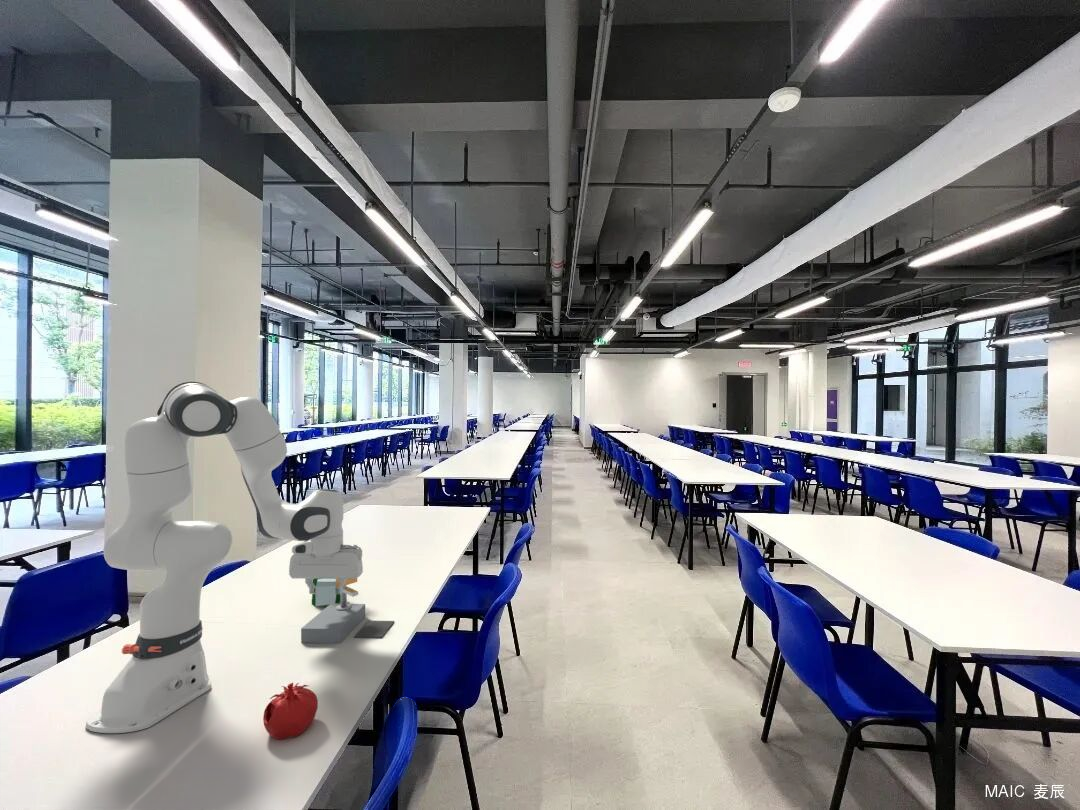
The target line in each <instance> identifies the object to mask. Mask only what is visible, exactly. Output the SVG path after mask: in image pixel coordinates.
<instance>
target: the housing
mask: <svg viewBox="0 0 1080 810" xmlns="http://www.w3.org/2000/svg"><path fill="white" fill-rule="evenodd" d="M365 618H366V603H348V602H347V606H346V607H344V608H341V607H340V603H336V604H330V605H329V606H327V607H326V608H323V610H321V611H320V612H319V613H318V614H317V615H316V616H314V617H313V618H312V619H311V620H309V621H308V622H307V623H306V624H304V626H302V627H301V629H300V638H301V639H300V642H301V644H341V643H342V642H343V641H344V640H345V639H346V638H347V637H348V636H349V635H350V633H351V632H352V631H353V630H354V629H355V628H356V627H357V626H358V625H359V624H360V623H361V622H362V621H363V620H364V619H365Z"/></svg>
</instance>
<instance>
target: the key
mask: <svg viewBox="0 0 1080 810" xmlns="http://www.w3.org/2000/svg"><path fill="white" fill-rule="evenodd" d="M357 582H358V578H356V579H347V581H346V583H345V585H344V586H343V593H342V594H340V602H339V604H340V607H341V608H344V607H346V606H347V603H348V596H351V597H352V598H353V597H355V596H356V597H357V596H359V591H358V590H356V589H353V588H351V587H349V585H351V584H355V583H357ZM340 584H341V582H339V579H336V588H337V587H338V586H340Z"/></svg>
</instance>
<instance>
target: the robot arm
mask: <svg viewBox="0 0 1080 810" xmlns="http://www.w3.org/2000/svg"><path fill="white" fill-rule="evenodd" d="M156 415H157V416H153V417H146V418H143V419H140V420H137V421H135V422H133V423H132V424H130V426H129V427H127V430H126V433H125V437H124V438H125V439H124V462H125V471H126V477H127V484H128V494H129V507H128V508H129V509H128V512H127V515H126V517H125V519H124V521H123V522H122V523H121V524H120V525H119V526H118V527H116V528H115V529H114V530H113V531H112V532H111V533H110V534H109V535H108V537H107V539H106V540H105V542H104V545H103V557H104V560H105V562H106V564H108V566H109V567H111V568H115V569H120V570H126V571H133V572H141V571H142V572H143V571H144V572H145V571H164V572H165V573H164V574H165V576H164V581H163V582H162V584H160V585H158V586H155V587H154V588H153V589H151V590H150V591H148V592H147V593H145V595H144V597H143V598H142V599H141V601H140V604H139V634H138V635H137V638H136V640H135V643H134V644H131V643H126V644H124V645H123V647H122V648H121V654H122V655H132V657H131V658H130V659H129V661H128V662H127V663H126V664H125V665H124V667H123V668H122V669H121V670H120V672H118V674H117V676H116V677H115V678H114V679H113V681H112V682H111V683H110V684H109V686H108V687H107V688H106V689H105V691H104V692H103V693H104V694H103V697H102V703H101V708H100V710H98V711H97V712H96V713H95V714H93V715H92V716H91V717H90V718H89V719H87V721H85V728H86V729H87V730H88V729H89V730H88V731H90V732H95V733H101V734H124V733H125V734H126V733H132V732H137V731H141V730H145V729H148V728H150V727H152V726H154V725H155V724H157V723H158V722H160V721H162V720H163V719H165V718H166V717H168V716H170V715H171V714H173V713H174V712H176V711H178V710H179V709H181V708H182V707H184V706H186V705H187V704H188V703H191V702H192V701H193V700H195V699H197V698H198V697H200V696H202V695H203V694H204V693H207V691H209V690H211V689H212V683H211V681H210V679H209V675H208V670H207V663H206V662H207V661H206V656H205V651H204V648H203V646H202V643H201V638H202V636H203V623H202V620H201V619H200V617H201V616H200V614H201V612H200V610H201V595H202V589H203V585H204V583H205V581H206V579H207V577H208V575H209V574H210V573H211V572H212V570H213V569H214V568H215V567H217V566H218V565H219V564H220V563H222V562H223V561H224V560H225V559H226V558H227V557H228V555H229V553H230V551H231V549H232V545H233V535H232V532H231V530H230V529H229V527H228V526H227V525H226V524H224V523H222V522H217V521H210V520H205V519H204V520H174V519H173V517H172V512H173V509H176V508H178V507H180V506H181V505H183V504H184V503H185V502H186V501H187V500H188V499H190V497H191V494H192V492H193V485H192V477H191V472H190V471H191V470H190V464H189V463H190V462H189V458H188V456H189V455H188V449H187V444H188V441H189V438H190V437H194V438H195V437H196V438H203V437H209V436H215V435H223V434H224V435H225V437H226V438H227V440H228V441H229V443H230V445H231V447H232V449H233V451H234V453H235V454H236V455H235V456H236V457H237V460H238V461H239V463H240V471H241V475H242V479H243V480H244V481H243V482H244V483H245V486H246V488H247V490H248V494H249V495H250V498H251V501H252V503H253V505H254V508H255V512H256V523H257V528H258V531H259V532H260V534H261V535H262V536H264V537H265V538H267V539H276V540H277V539H282V540H290V541H296V542H299V543H297V544H295V545H293V546H292V547H291V553H292V555H291V557H290V559H289V566H288V575H289V577H290V578H291V579H305V580H304V581H305V584H306V585H307V588H308V594H309V595H312V594H315V593H316V586H314V584H313V582H312V580H314V579H339V582H341V584H340V586H338V587H337V588H335V591H336V592H335V594H342V593H343V586H344V585H345V583H346V581H347V579H356V578H357V579H358V578H359V577H361V576H362V574H363V572H364V568H363V567H364V565H363V549H362V548H361V547H360V546H358V545H357V544H344V528H343V527H342V526H343V522H344V521H343V520H344V501H343V497H342V494H341V492H340V491H339V490H337V489H328V488H327V489H326V488H316V489H313V490H312V492H311V494H309V496H308V497H306V498H305V499H303V500H302V501H300V502H298V503H292V502H291V503H290V502H289V501H285V500H284V499H282V497H280V495H279V492H278V489H277V487H276V484H275V481H274V479H273V477H272V475H273V474H272V471H274V470H275V469H276V468H278V467H279V466H280V465H282V463H283V462H284V460H285V459H286V456H287V453H288V447H287V443H286V440H285V438H284V435H283V433H282V432H281V430H280V427H279V426H278V423H277V422H276V420H275V419H274V417H273V415H272V413H270V411H269V409H268V408H267V407H266V406H265V405H264V403H263V402H262V401H261V400H260V399H258V398H257V397H252V396H243V397H238V398H235V399H233V400H232V399H231V400H228V399H226V398H224V397H223V396H222V395H221V394H219V392H217V391H216V390H215V389H214V388H212V387H211V386H209V385H207V384H205V383H202V382H198V381H187V382H182V383H179V384H177V385H175V386H174V387H172V388H171V389H170V390H169V391H168V393H167V394H166V396H165V397H164V399H163V400H162V403H161V405H160V407H159V408H158V410H157V413H156Z"/></svg>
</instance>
